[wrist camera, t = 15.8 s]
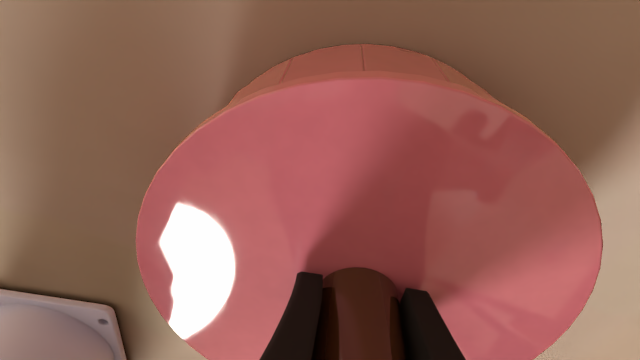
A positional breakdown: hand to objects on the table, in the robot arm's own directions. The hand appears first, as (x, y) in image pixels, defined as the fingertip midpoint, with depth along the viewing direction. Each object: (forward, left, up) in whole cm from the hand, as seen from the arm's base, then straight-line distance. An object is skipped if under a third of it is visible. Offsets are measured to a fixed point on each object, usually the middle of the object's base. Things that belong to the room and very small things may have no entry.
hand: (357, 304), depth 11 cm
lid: (0, 0, -1) cm, 1 cm away
